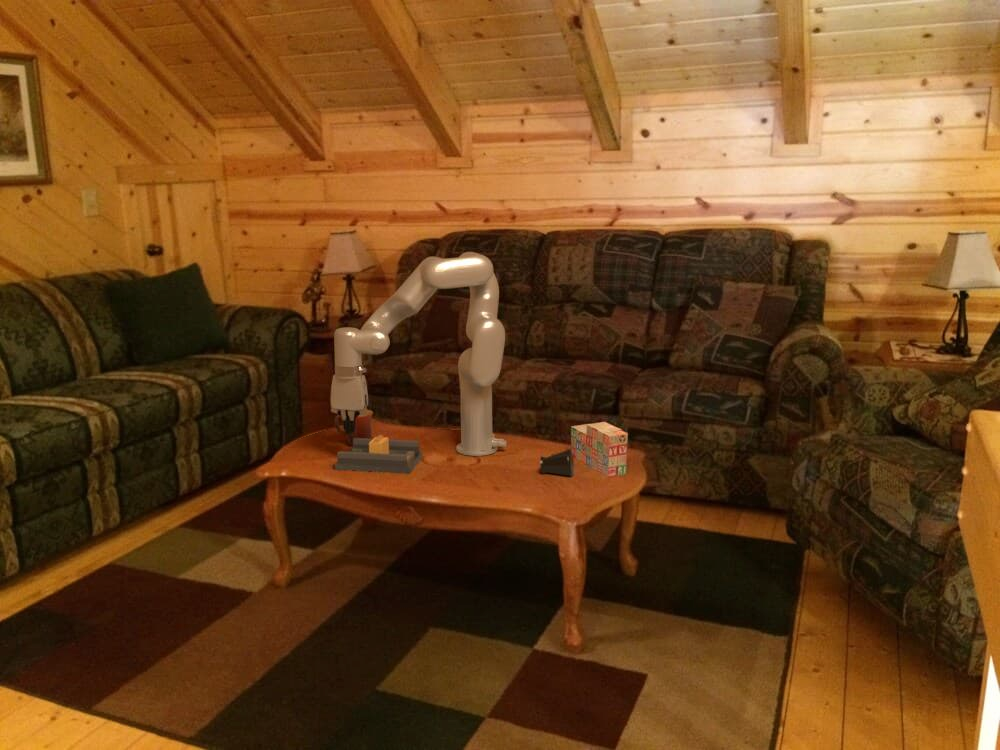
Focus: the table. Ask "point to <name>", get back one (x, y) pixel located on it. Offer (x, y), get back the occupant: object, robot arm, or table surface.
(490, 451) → the robot arm
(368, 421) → the mug
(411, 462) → the panel
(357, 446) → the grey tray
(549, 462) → the black tapered piece
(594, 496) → the table surface
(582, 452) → the stack of blocks
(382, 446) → the cheese wedge
